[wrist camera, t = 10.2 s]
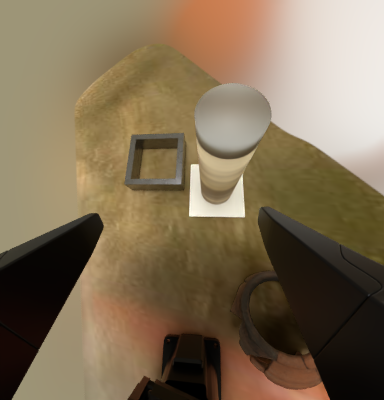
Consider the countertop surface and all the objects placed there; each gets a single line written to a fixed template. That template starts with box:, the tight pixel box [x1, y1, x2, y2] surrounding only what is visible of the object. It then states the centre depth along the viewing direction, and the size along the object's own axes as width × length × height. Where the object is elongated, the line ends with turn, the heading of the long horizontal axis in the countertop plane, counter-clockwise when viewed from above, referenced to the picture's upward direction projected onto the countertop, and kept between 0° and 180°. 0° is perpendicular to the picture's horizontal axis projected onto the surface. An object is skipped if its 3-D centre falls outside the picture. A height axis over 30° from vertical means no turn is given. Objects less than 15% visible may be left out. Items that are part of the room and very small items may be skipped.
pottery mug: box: [230, 271, 322, 390], centre depth 16 cm, size 12×10×8 cm
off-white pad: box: [189, 164, 245, 218], centre depth 23 cm, size 8×8×1 cm
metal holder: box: [125, 133, 186, 190], centre depth 24 cm, size 8×8×2 cm
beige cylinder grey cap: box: [195, 83, 271, 205], centre depth 16 cm, size 4×4×14 cm
